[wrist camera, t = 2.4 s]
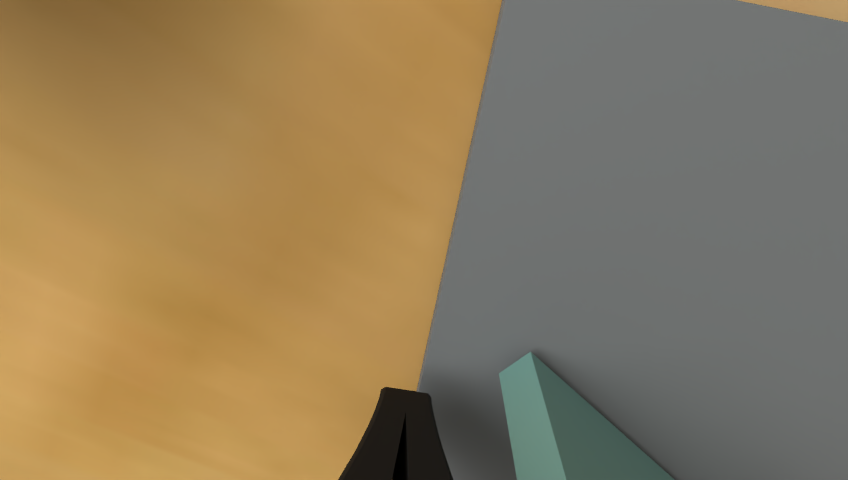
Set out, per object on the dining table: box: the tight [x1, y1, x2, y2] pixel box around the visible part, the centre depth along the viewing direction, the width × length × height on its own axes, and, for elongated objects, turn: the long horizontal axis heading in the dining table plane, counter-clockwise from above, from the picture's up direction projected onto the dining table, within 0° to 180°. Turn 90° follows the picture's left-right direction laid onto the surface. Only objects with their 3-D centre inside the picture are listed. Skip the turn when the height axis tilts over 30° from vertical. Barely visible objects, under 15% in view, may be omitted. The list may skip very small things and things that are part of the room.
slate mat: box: [417, 0, 848, 480], centre depth 14 cm, size 21×17×1 cm
